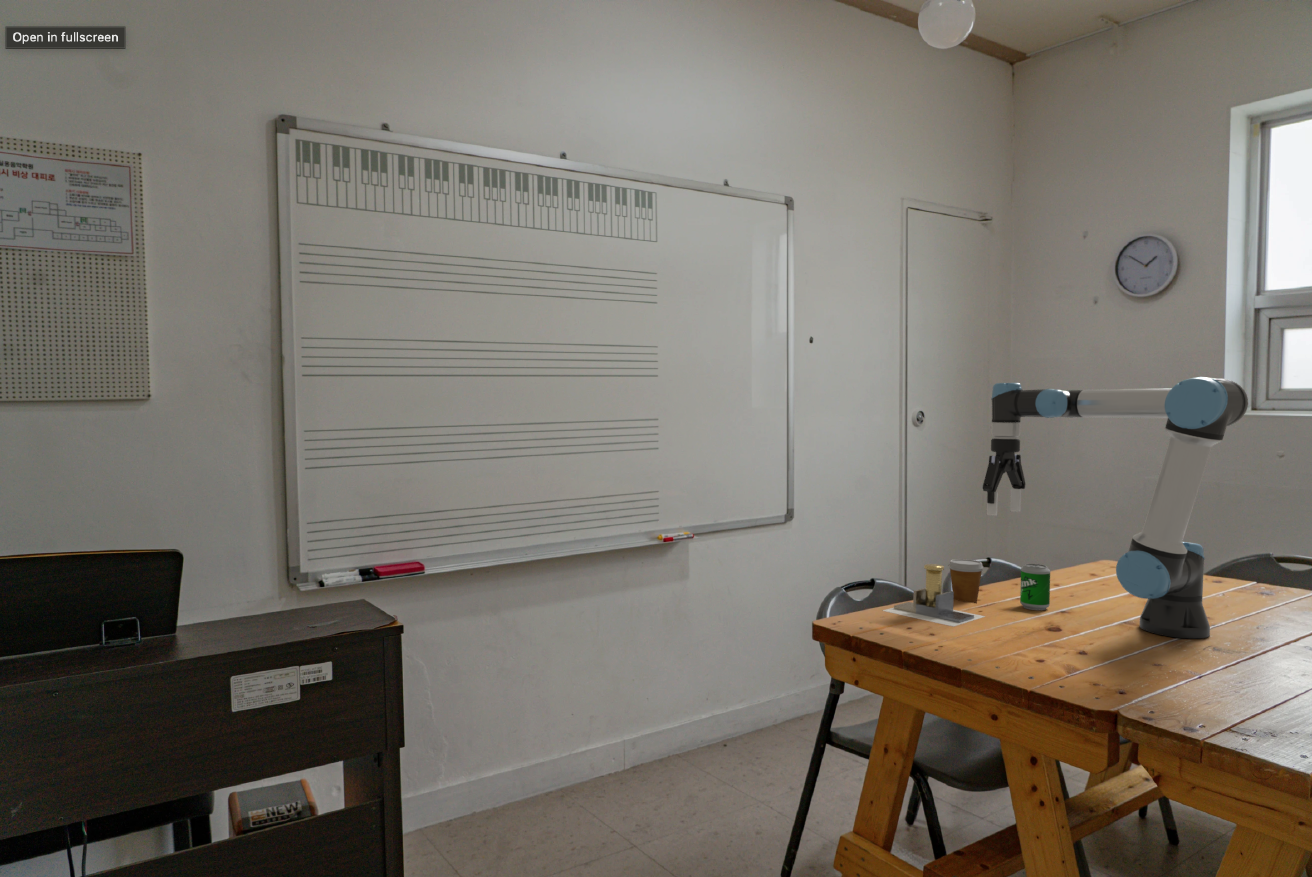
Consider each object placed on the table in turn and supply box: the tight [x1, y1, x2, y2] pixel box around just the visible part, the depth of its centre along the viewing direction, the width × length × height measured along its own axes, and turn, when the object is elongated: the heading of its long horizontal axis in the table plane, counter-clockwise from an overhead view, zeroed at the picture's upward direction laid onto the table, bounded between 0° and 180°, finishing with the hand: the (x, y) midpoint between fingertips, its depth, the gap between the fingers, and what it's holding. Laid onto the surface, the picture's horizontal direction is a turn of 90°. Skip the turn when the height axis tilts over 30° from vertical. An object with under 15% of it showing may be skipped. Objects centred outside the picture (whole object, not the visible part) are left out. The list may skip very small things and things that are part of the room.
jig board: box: [882, 607, 986, 628], centre depth 221 cm, size 21×16×1 cm
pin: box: [923, 563, 945, 607], centre depth 221 cm, size 5×5×13 cm
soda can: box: [1019, 563, 1051, 611], centre depth 233 cm, size 8×8×12 cm
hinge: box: [893, 587, 974, 623], centre depth 221 cm, size 19×7×6 cm, turn 41°
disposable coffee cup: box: [947, 558, 984, 604], centre depth 238 cm, size 10×10×12 cm
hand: (1003, 513), depth 232 cm, fingers open, 13 cm apart
